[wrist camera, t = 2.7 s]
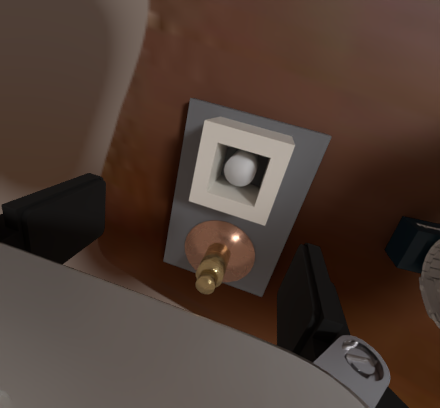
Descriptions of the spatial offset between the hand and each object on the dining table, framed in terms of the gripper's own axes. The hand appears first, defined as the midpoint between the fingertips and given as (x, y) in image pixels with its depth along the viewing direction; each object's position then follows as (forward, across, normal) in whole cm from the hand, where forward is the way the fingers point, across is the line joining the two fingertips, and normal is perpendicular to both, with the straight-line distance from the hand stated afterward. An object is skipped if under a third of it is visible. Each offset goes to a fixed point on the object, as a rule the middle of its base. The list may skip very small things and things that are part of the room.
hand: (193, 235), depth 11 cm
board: (+17, 0, +6) cm, 18 cm away
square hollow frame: (+15, 0, 0) cm, 15 cm away
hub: (+15, 0, +12) cm, 19 cm away
